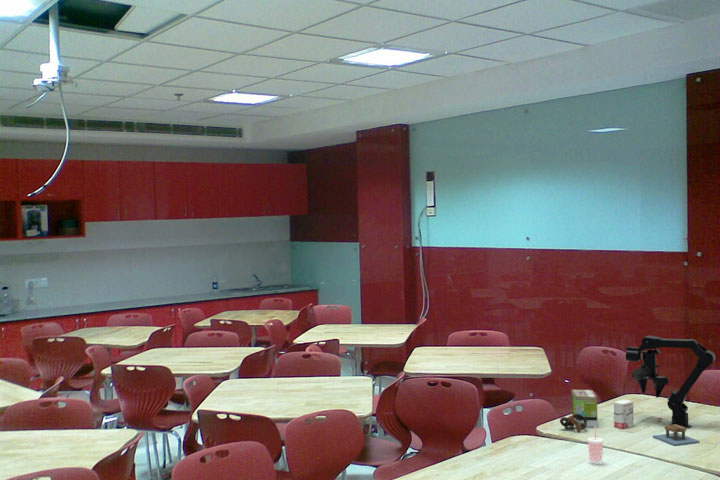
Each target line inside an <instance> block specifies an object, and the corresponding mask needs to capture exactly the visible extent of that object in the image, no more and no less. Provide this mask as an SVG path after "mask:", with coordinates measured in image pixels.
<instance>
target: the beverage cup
mask: <svg viewBox="0 0 720 480" xmlns="http://www.w3.org/2000/svg"><path fill="white" fill-rule="evenodd" d="M586 440H587V444H588V446H587V447H588V454H589V455H588V456H589V463H591V462H592V463H591V464H593V463H596V464H595V465H598V464H597V463H601V464H603V450H604V449H603V448H604V439H603V438H601V437H599V436H597V428H596V427H595V428H594V437H593V436H592V437H587V439H586Z"/></svg>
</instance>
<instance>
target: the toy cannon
mask: <svg viewBox="0 0 720 480" xmlns="http://www.w3.org/2000/svg"><path fill="white" fill-rule="evenodd" d="M575 417H578V418H579V419H581V420H583V421H584V423H581V425H579V422H578V421H576V420H575V419H574V418H575ZM559 423H560V425H561V426H562V427H564V429H565V428H566V429H568V427H571V426H574V427H576V426H577V429H576V432H577V433H581V432H582V431H584V430H586V429H587V427H586V426H587V420H586V419H585V418H584V417H583V416H582V415H580V414H572V413H571V415H569V416H568V417H566V416H562V417H561V418H560V419H559Z"/></svg>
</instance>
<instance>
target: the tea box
mask: <svg viewBox="0 0 720 480" xmlns="http://www.w3.org/2000/svg"><path fill="white" fill-rule="evenodd" d="M572 414H580V415H582V416H583V417H584V418H585V419H586V420H587V426H586V428H594V429H595V427H596V429H597V428H598V397H597V395H596V393H595V392H594V390H592V389H571V415H572ZM574 419H575V420H576V421H578V422H579V425H581V423H584V421H583V420H581V419H579V418H578V417H575V418H574ZM575 427H577V426H576V425H575ZM577 428H578V427H577Z"/></svg>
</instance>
